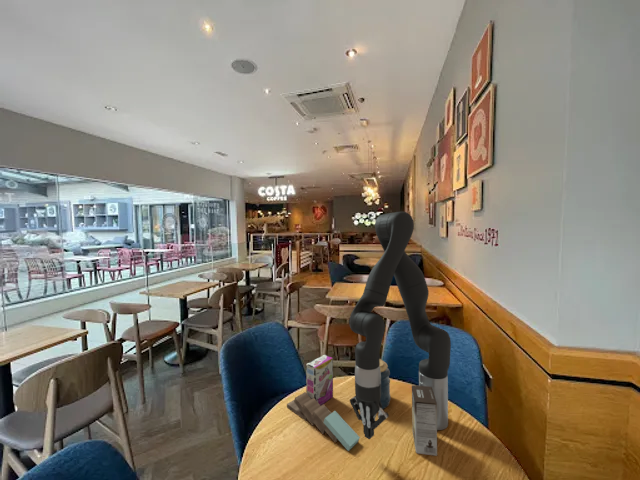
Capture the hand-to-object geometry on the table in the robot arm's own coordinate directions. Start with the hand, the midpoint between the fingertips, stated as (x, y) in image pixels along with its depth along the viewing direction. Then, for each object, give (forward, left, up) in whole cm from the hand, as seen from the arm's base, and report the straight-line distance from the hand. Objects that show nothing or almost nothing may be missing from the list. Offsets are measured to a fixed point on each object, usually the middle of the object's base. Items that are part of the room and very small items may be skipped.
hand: (368, 436), depth 81 cm
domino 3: (+1, -16, -5) cm, 17 cm away
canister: (-24, -14, -6) cm, 28 cm away
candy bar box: (-9, -29, -6) cm, 31 cm away
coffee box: (-16, +10, -6) cm, 20 cm away
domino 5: (0, -5, -5) cm, 7 cm away
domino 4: (0, -11, -5) cm, 12 cm away
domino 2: (0, -21, -5) cm, 22 cm away
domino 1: (0, -25, -6) cm, 26 cm away
